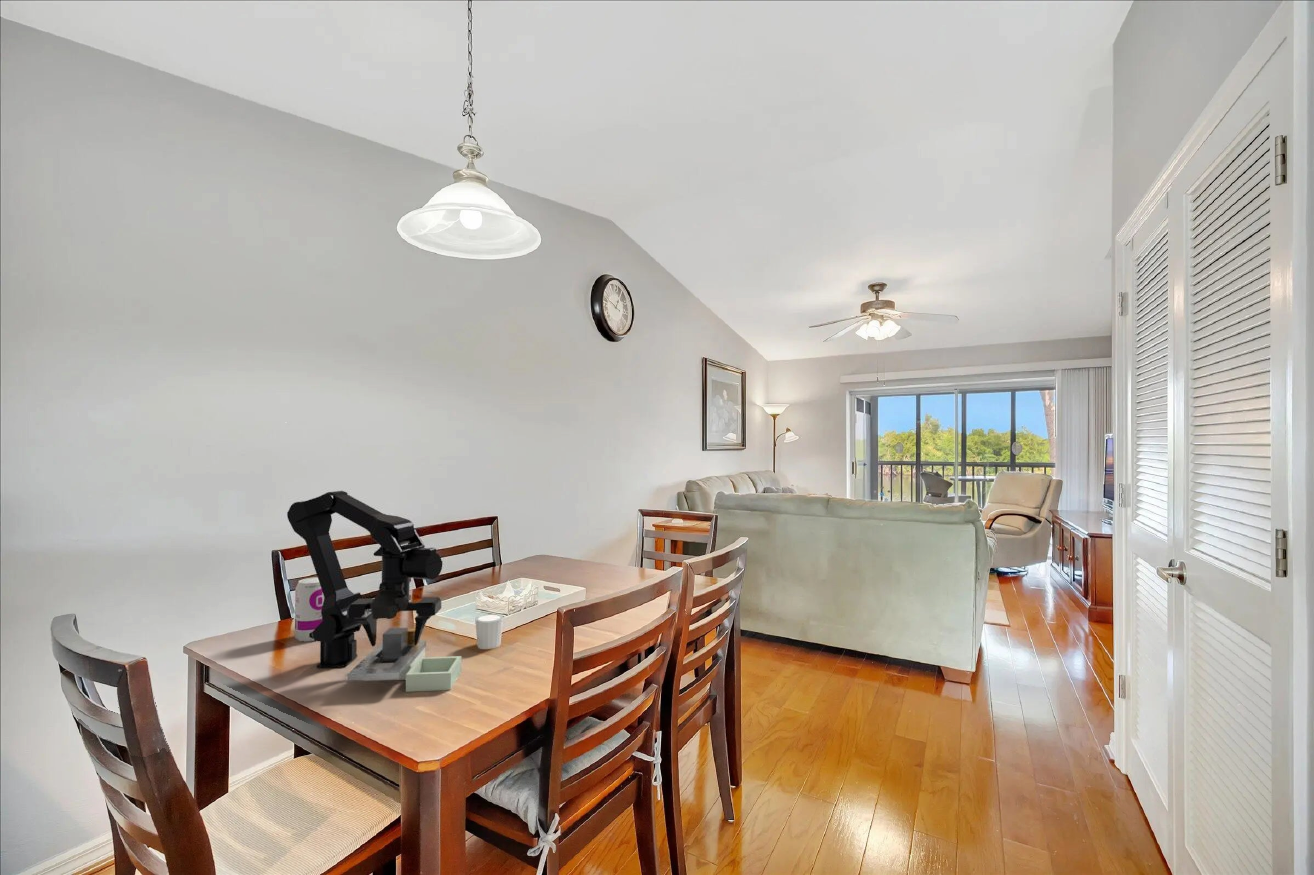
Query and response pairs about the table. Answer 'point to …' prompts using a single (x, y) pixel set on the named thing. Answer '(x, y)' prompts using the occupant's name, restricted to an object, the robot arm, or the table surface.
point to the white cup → (489, 630)
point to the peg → (394, 644)
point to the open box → (433, 673)
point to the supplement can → (308, 608)
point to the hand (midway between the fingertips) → (395, 645)
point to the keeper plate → (397, 669)
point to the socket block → (388, 665)
